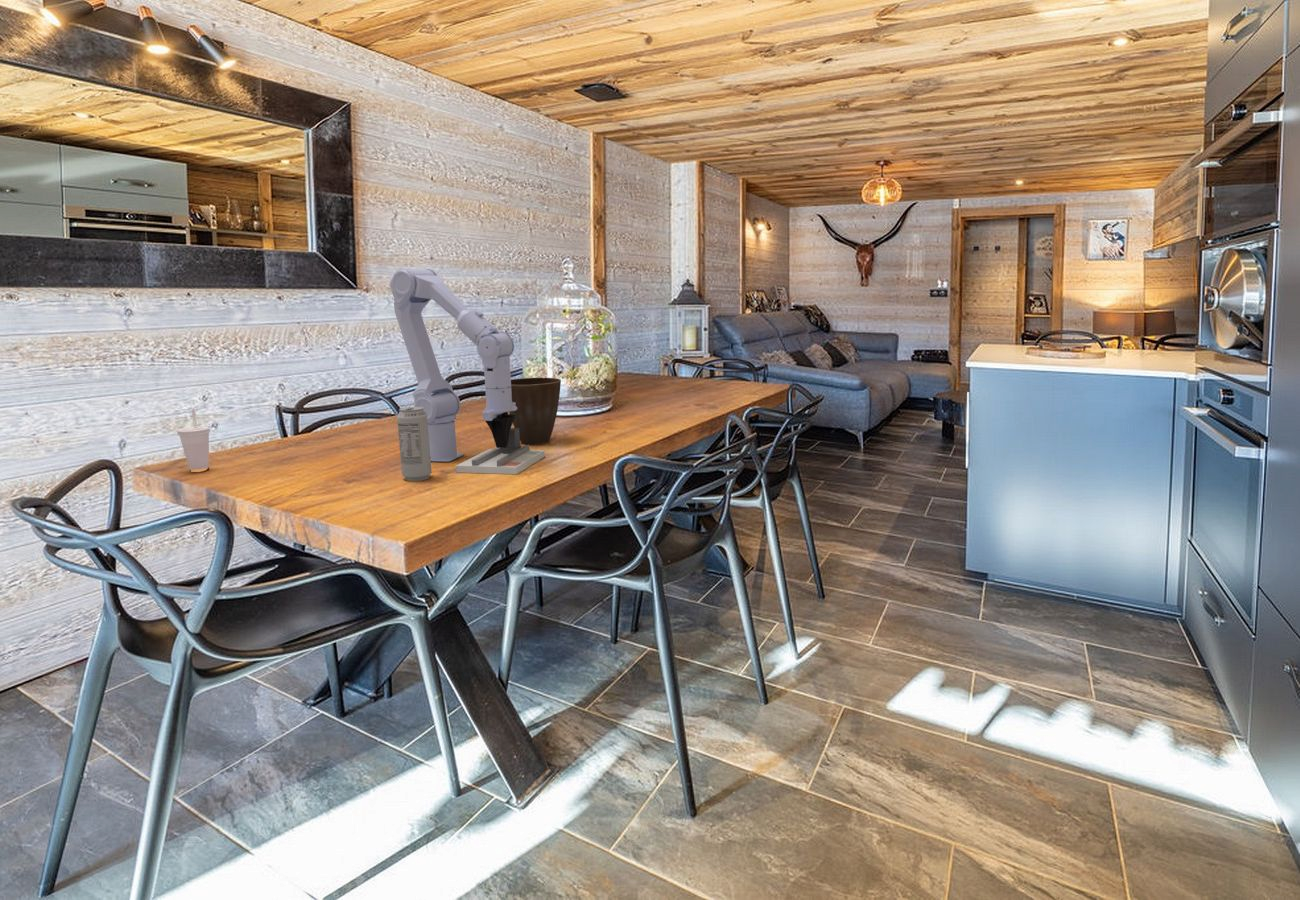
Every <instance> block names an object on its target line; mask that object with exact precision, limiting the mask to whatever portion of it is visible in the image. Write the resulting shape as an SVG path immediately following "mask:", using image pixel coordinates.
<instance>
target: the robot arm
mask: <svg viewBox="0 0 1300 900" xmlns="http://www.w3.org/2000/svg"><path fill="white" fill-rule="evenodd" d="M389 287H390V290H391V293H392V296H393V300H394V301H393V303H394V305H393V306H394V314H395V317H396V320H397V323H398V325H399V326H398V327H399V329H400V332H401V335H402V338H403V342H404V344H405V347H406V350H407V353H408V357H409V360H410V363H411V366H412V368H413V372H414V375H415V377H416V380H417V387H416V388H415V389H414V391H413V393H412V395H413V396H412V397H413V399H414V407H423V410H424V412H425V413H426V415H427V421H428V433H429V446H430V458H431V462H445V463H446V462H447V463H449V462H452V461H454V460H456V459H458V458H460V457H462V456H464V455H465V454H464V453H465V452H458V450H457V448H458V447H457V438H456V437H457V436H456V423H455V422H456V421H455V420H457V415H458V414H459V413H460V410H461V400H460V398H459V396H458V394H457V393H455V391H454V389H453V387H452V384H451V383H450V382H448V381H447V380H446V379H445V378H443V377H442V374H441V371H440V367H439V365H438V362H437V359H436V358H437V357H436V355H435V351H434V350H433V346H432V344H431V340H430V337H429V334H428V331H427V328H426V326H425V321H424V319H423V315H422V312H423V311H424V308H426V307H427V305H428V304H429V303H430V302H431V301H434V302H435V303H436V304H437V305H438V306H440V307H441V308H442V309H443V310H444V311H445V312H447V313H448V314H449V315H451V317H452V318H454V319H455V320H456V321H457V322H456V323H457V329H458V330H459V331H460V332H461V333H462V334H464V336H465V337H466V338H468V339H469V341H471V342H472V343H473V344H474V345H475V346H476V352H477V354H478V355H479V358H481V361H482V362H481V364H482V365H481V366H483V373H484V387H485V388H484V390H485V404H486V407H485V409H484V411H482V412H481V415H482V421H483V422H485V423H486V424H487V426H488V428H489V429H490V432H491V434H492V438H493V440H494V444H495V446H496V447H495V448H505V447H507V445H508V440H509V434H510V429H511V428H512V427H513V426H512V425H513V421H514V419H515V415H514V414H509V412H510V411H516V410H517V407H516V403H515V402H512V392H511V380H512V375H511V363H510V362H511V359H510V357H511V355H513V353H514V350H515V343H514V340H513V337H511V336H510V334H509V333H508V332H505V331H499V330H498V327H497V326H495V325H493V324H491V323H490V322H489V320H487V318H485V317H484V313H483V312H482V311H481V310H476V309H468V308H467V307H466V306H465V304H464V303H463V302H462V301H461V300H460V299H459V298H458V297H457V296H456V295H455V293H454V292H453V291H451V289H450V288H449V287H448V286H447V285H446V284H445V283H444V278H443V277H442V276H440V275H438V273H437V272H436V271H435V270H434V269H431V268H425V269H424V268H423V269H417V268H416V269H415V268H413V269H412V268H404V267H401V268H399V269H396V271H395V272H394V273H393V275H392V278H391V280H390V282H389Z"/></svg>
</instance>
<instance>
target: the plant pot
mask: <svg viewBox="0 0 1300 900" xmlns="http://www.w3.org/2000/svg"><path fill="white" fill-rule="evenodd" d="M561 381H562V380H561V379H560V378H557V377H555V378H554V377H524V378H513V379H511V392H512V402H515V403H516V407H517V410H516V411H510V412H508V414H514V415H515V419H514V421H513V423H512V425H513V428H519V434H520V444H522V445H529V446H530V445H531V446H534V445H535V444H536V445H543V444H547V443H549V442H550V441H551V437H552V434H553V432H554V427H555V422H556V418H557V415H558V410H559V409H558V408H559V403H560V396H561V395H560V394H561V392H560V391H561V383H562V382H561Z"/></svg>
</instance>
